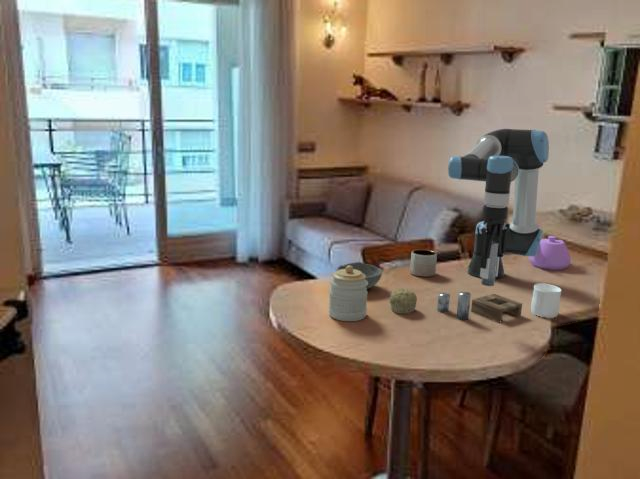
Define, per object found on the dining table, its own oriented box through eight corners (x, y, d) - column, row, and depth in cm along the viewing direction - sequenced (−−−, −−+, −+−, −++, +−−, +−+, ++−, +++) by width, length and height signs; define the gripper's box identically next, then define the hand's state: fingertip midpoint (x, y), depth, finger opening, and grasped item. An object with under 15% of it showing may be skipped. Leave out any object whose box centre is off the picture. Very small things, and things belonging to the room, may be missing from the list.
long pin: (487, 281, 195) (491, 240, 192) (496, 284, 192) (501, 243, 188) (478, 283, 193) (483, 241, 189) (488, 286, 189) (493, 244, 186)
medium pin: (461, 315, 205) (464, 290, 203) (470, 319, 202) (473, 294, 200) (453, 317, 203) (456, 292, 201) (462, 321, 200) (465, 296, 198)
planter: (435, 278, 247) (437, 256, 244) (409, 276, 249) (410, 254, 246) (435, 271, 257) (437, 250, 255) (410, 269, 259) (411, 248, 257)
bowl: (348, 297, 220) (349, 277, 218) (328, 283, 236) (329, 264, 234) (390, 292, 227) (391, 272, 225) (368, 279, 243) (369, 260, 241)
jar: (356, 325, 194) (358, 273, 190) (321, 317, 200) (323, 266, 196) (372, 313, 205) (375, 264, 201) (339, 305, 211) (341, 258, 207)
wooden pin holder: (493, 305, 216) (494, 293, 215) (520, 315, 207) (522, 303, 206) (471, 311, 209) (472, 299, 208) (498, 322, 200) (500, 309, 199)
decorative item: (392, 315, 214) (379, 296, 209) (411, 297, 216) (399, 278, 211) (406, 325, 206) (392, 305, 201) (426, 306, 207) (413, 286, 203)
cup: (543, 320, 203) (547, 293, 201) (523, 310, 212) (526, 284, 210) (564, 316, 207) (568, 290, 205) (543, 307, 216) (546, 282, 214)
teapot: (545, 257, 285) (548, 230, 282) (579, 266, 272) (583, 237, 269) (514, 265, 270) (517, 236, 267) (549, 275, 257) (553, 244, 254)
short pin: (442, 307, 212) (443, 291, 211) (450, 311, 209) (452, 295, 208) (434, 309, 210) (436, 293, 209) (443, 313, 207) (444, 297, 205)
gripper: (503, 201, 194) (496, 269, 199) (468, 205, 184) (461, 277, 190) (522, 205, 188) (514, 275, 193) (487, 209, 178) (480, 283, 184)
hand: (488, 276), depth 192 cm, fingers closed on long pin, 4 cm apart
